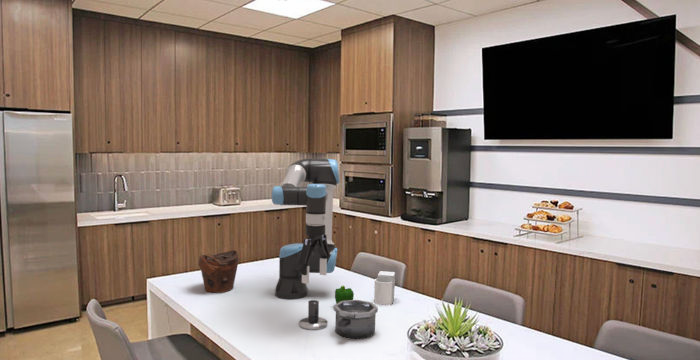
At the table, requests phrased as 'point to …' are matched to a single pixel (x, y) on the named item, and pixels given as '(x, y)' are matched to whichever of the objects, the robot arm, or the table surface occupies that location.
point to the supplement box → (387, 280)
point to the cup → (382, 293)
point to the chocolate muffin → (219, 271)
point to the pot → (355, 319)
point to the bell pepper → (343, 294)
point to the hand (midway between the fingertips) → (314, 278)
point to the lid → (313, 318)
